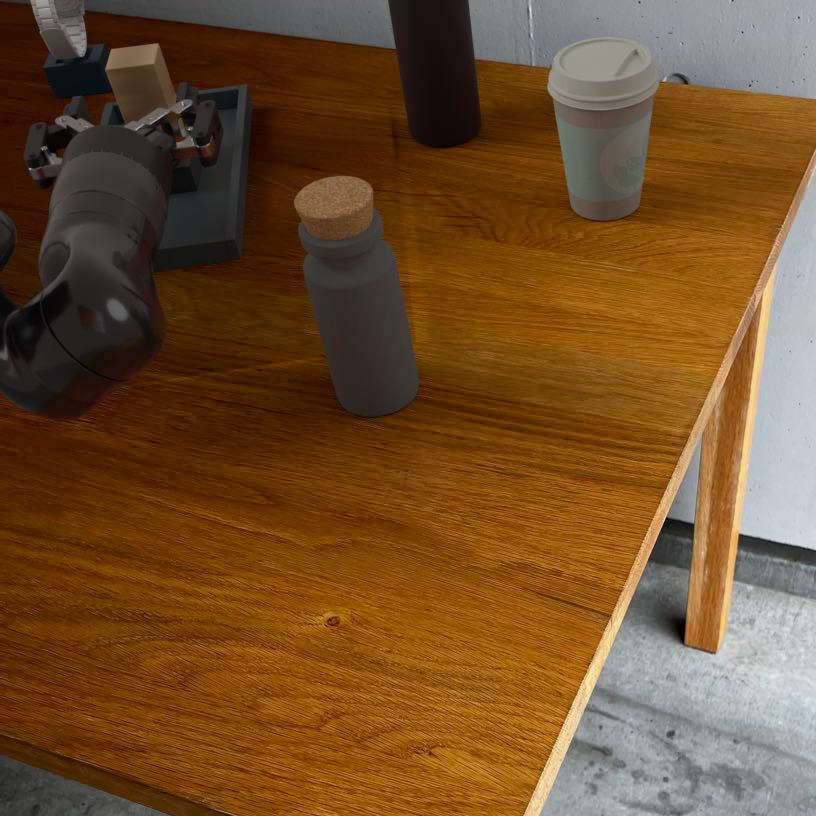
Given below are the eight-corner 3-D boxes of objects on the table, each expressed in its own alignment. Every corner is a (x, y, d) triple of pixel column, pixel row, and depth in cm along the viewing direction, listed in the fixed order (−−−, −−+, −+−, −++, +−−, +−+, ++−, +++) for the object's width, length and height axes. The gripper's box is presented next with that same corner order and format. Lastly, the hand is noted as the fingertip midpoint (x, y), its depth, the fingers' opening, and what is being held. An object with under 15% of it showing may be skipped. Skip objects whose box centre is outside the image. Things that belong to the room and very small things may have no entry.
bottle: (406, 354, 76) (367, 161, 65) (430, 402, 72) (393, 206, 61) (328, 377, 75) (274, 184, 64) (348, 427, 71) (295, 232, 60)
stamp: (140, 198, 92) (95, 81, 84) (149, 153, 97) (107, 39, 90) (197, 191, 92) (157, 73, 84) (203, 146, 98) (166, 32, 90)
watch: (118, 65, 112) (78, -47, 104) (107, 99, 107) (63, -15, 98) (65, 71, 112) (20, -40, 104) (51, 106, 106) (3, -8, 98)
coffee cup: (596, 243, 84) (593, 96, 75) (534, 200, 89) (523, 57, 80) (678, 204, 87) (683, 58, 78) (613, 165, 92) (611, 23, 83)
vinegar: (497, 126, 98) (473, -117, 83) (444, 156, 95) (409, -91, 80) (447, 106, 101) (416, -131, 86) (394, 134, 98) (353, -107, 83)
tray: (73, 288, 84) (61, 262, 83) (114, 126, 103) (105, 102, 101) (242, 264, 85) (234, 238, 83) (254, 108, 103) (247, 83, 102)
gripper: (195, 140, 73) (209, 42, 83) (-14, 168, 72) (27, 65, 83) (226, 235, 78) (235, 132, 89) (32, 262, 78) (65, 155, 88)
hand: (135, 100), depth 86 cm, fingers open, 8 cm apart
